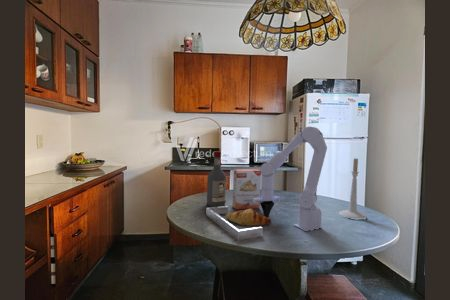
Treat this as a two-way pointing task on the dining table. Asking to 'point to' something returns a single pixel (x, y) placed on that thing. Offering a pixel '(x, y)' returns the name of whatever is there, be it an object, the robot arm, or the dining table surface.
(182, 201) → the dining table surface
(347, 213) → the candlestick
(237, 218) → the croissant
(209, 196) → the liquor
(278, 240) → the dining table surface
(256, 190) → the cracker box
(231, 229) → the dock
